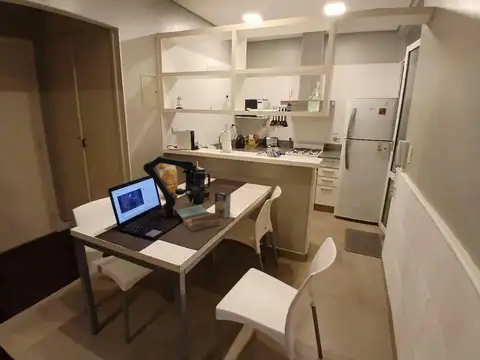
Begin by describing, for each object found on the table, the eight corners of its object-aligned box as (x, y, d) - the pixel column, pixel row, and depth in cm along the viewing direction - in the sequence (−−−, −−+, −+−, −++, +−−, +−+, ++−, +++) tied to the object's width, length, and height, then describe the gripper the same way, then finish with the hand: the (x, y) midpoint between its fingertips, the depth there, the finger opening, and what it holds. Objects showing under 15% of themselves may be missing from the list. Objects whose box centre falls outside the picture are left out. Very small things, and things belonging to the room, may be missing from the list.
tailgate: (182, 220, 170) (176, 212, 178) (207, 214, 180) (200, 207, 187) (182, 217, 170) (176, 209, 177) (207, 211, 179) (200, 204, 187)
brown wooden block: (183, 223, 170) (182, 211, 168) (208, 217, 180) (208, 206, 178) (192, 231, 159) (192, 219, 157) (219, 224, 169) (219, 213, 167)
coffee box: (214, 215, 184) (214, 192, 179) (219, 212, 189) (219, 190, 185) (225, 218, 179) (225, 195, 175) (230, 214, 185) (231, 192, 180)
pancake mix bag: (157, 199, 211) (155, 164, 203) (175, 193, 226) (174, 160, 218) (163, 201, 207) (161, 165, 200) (181, 194, 223) (180, 161, 215)
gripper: (181, 184, 163) (182, 208, 167) (208, 180, 173) (209, 203, 177) (174, 180, 172) (175, 203, 176) (200, 176, 182) (201, 198, 186)
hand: (190, 202), depth 179 cm, fingers closed
